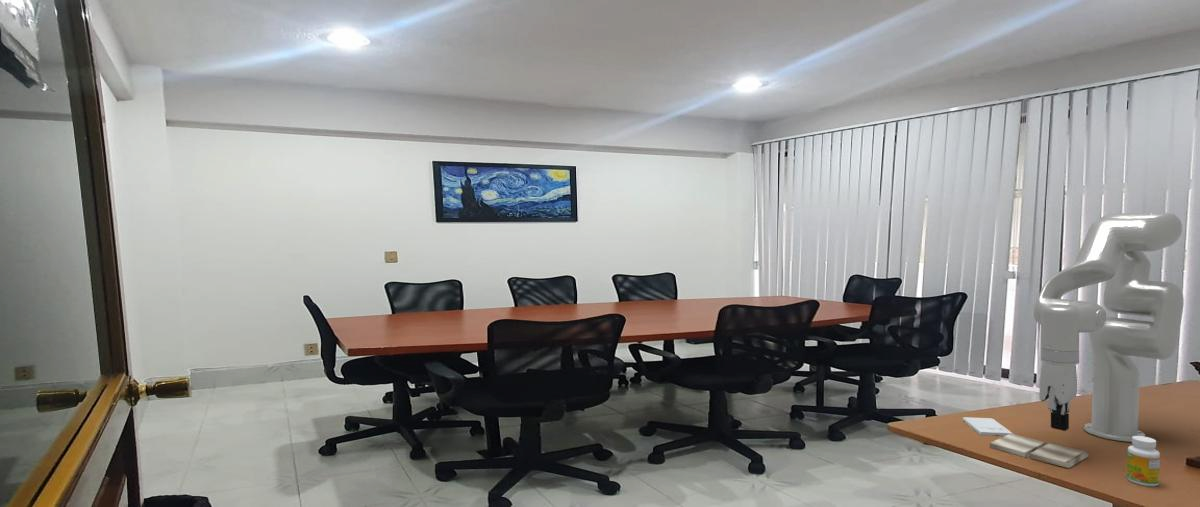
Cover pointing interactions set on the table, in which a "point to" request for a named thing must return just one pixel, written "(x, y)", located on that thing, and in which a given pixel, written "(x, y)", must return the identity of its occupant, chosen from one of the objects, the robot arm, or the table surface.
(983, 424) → the external hard drive
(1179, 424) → the table surface
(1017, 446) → the laid board
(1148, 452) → the supplement bottle
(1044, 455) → the plank
